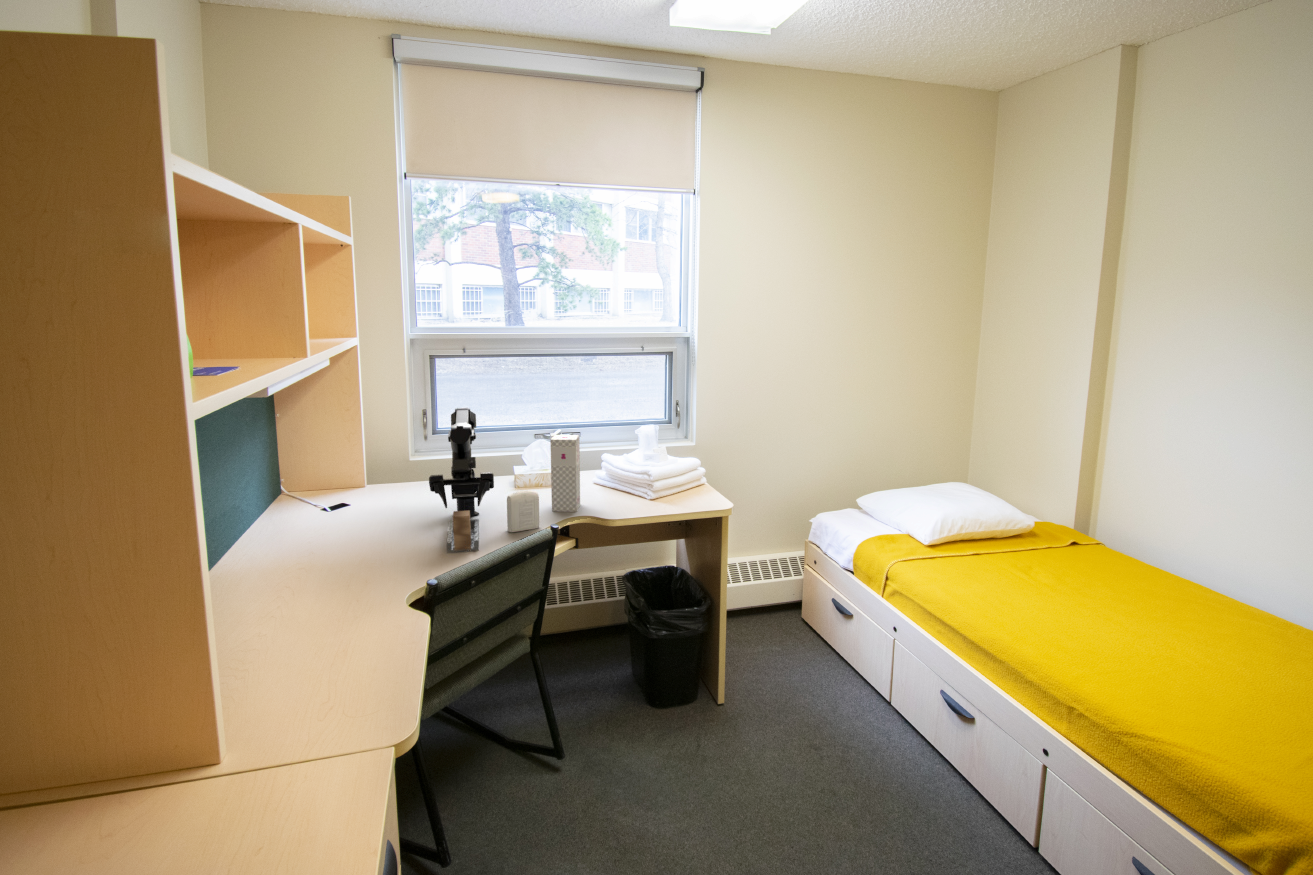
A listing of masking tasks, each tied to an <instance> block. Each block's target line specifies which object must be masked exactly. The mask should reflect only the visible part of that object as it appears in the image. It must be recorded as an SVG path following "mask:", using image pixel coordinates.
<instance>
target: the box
mask: <svg viewBox="0 0 1313 875" xmlns="http://www.w3.org/2000/svg"><path fill="white" fill-rule="evenodd" d="M580 449H581V448H580V434H554V435H553V436H552V437H551V438H550V474H551V475H550V479H551V481H550V482H551V484H550V485H551V512H571V513H572V512H574V513H575V512H576V513H577V512H578V510H579V507H580V506H581V479H580V478H581V468H580V467H581V466H580V465H581V460H580V459H581V458H580V455H581V454H580Z"/></svg>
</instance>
